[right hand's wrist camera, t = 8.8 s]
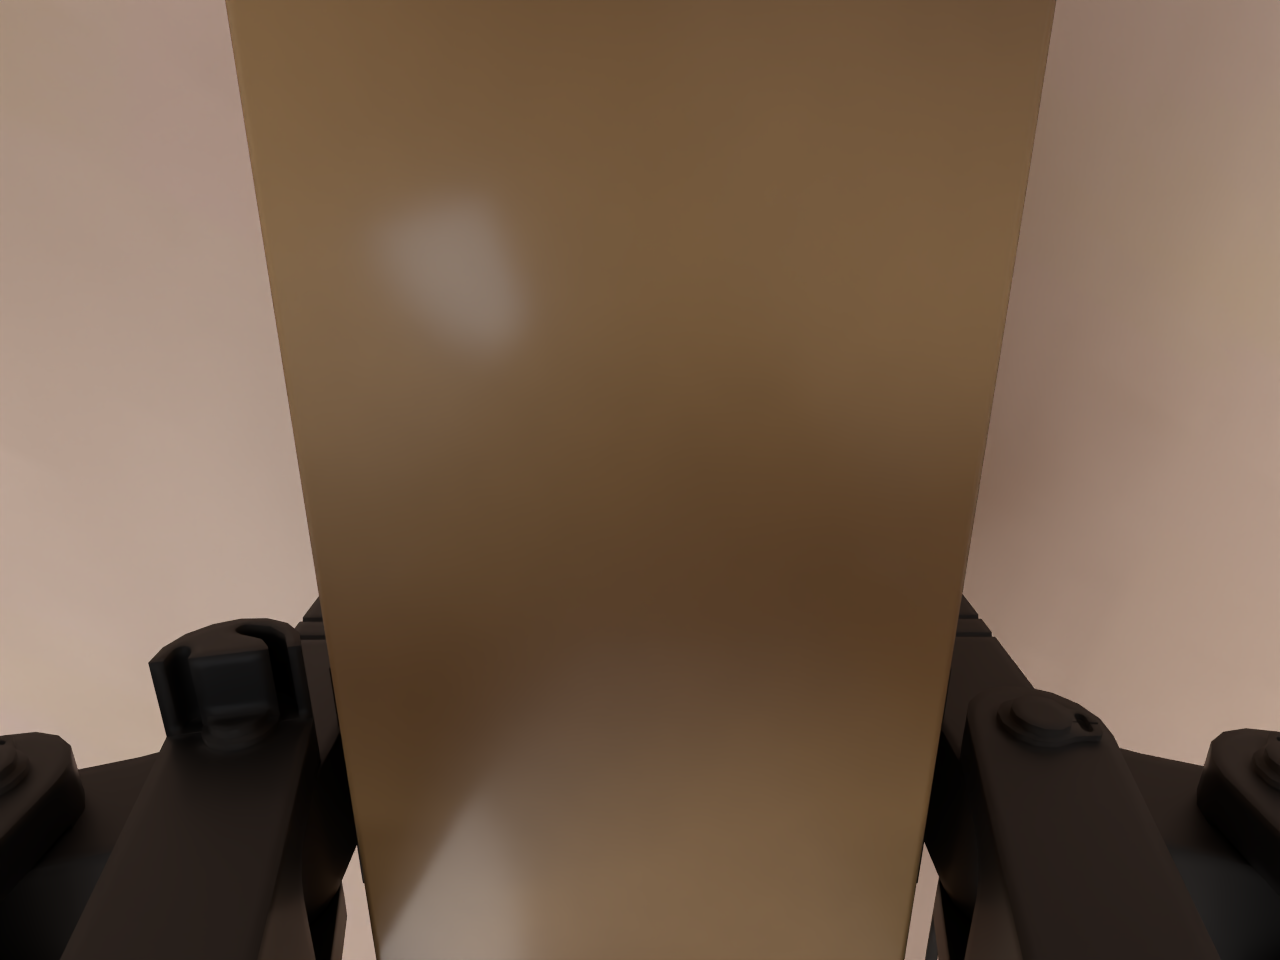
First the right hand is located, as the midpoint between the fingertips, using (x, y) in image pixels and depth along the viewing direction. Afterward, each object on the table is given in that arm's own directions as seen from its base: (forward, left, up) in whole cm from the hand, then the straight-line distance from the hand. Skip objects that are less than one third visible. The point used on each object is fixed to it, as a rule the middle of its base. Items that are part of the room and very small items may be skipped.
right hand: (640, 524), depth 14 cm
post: (+16, +11, -1) cm, 19 cm away
